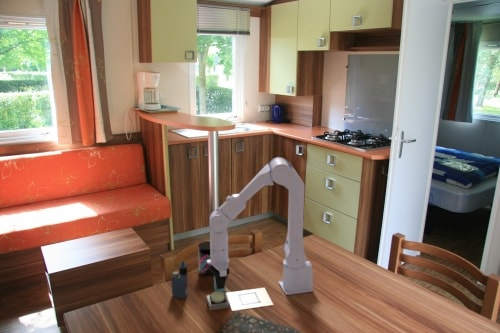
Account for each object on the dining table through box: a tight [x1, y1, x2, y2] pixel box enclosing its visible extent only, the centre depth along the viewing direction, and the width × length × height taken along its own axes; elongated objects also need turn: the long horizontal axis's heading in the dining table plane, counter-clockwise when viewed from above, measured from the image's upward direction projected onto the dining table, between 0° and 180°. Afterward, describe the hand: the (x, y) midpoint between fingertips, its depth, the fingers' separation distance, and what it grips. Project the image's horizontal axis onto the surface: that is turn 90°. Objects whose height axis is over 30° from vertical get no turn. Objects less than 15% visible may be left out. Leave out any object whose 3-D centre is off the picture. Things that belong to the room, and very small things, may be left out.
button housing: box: [206, 292, 230, 311], centre depth 125 cm, size 6×6×2 cm
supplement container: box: [197, 240, 214, 277], centre depth 143 cm, size 7×7×10 cm
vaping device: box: [170, 261, 189, 299], centre depth 128 cm, size 3×5×12 cm, turn 78°
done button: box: [210, 290, 225, 304], centre depth 125 cm, size 4×4×2 cm
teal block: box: [213, 275, 226, 292], centre depth 133 cm, size 3×3×6 cm
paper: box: [225, 287, 274, 312], centre depth 128 cm, size 13×10×1 cm
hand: (219, 285), depth 133 cm, fingers closed on teal block, 3 cm apart
